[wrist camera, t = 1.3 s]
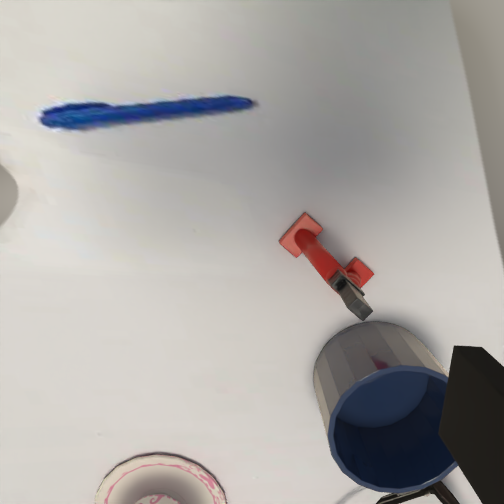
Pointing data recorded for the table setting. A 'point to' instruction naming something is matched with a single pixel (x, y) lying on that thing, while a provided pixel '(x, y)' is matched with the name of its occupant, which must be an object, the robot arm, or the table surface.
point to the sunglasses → (439, 489)
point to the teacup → (159, 483)
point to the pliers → (329, 265)
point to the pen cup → (383, 407)
